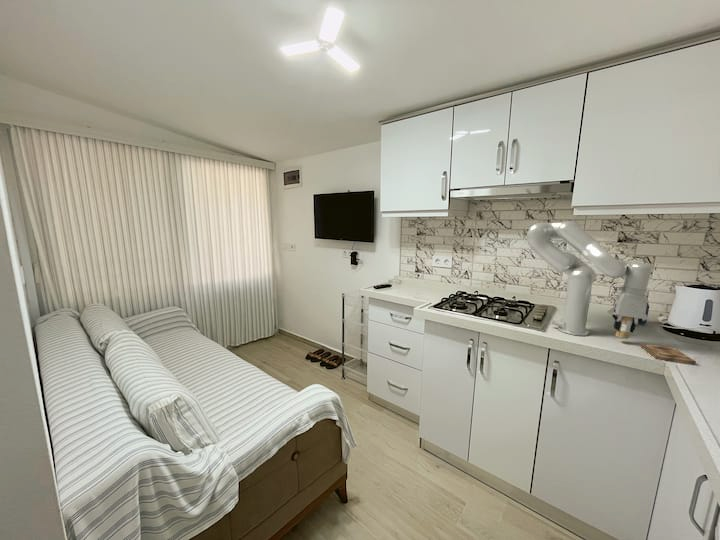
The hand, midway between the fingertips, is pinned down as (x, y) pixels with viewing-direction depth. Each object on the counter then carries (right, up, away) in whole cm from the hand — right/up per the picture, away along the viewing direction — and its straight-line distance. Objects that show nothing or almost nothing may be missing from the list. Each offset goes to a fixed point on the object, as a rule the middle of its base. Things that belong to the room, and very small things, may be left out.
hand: (623, 329), depth 135 cm
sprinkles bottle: (0, -3, +1) cm, 4 cm away
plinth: (+7, -8, -12) cm, 16 cm away
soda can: (+32, -2, +28) cm, 42 cm away
